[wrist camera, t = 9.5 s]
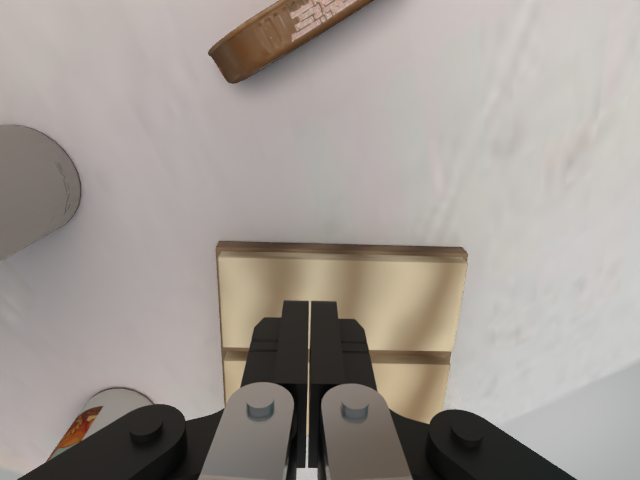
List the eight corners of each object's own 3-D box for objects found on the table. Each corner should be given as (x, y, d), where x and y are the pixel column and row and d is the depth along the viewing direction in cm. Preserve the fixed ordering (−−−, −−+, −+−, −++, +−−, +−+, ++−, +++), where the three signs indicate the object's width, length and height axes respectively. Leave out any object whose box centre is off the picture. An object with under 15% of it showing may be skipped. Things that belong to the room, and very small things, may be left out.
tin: (395, -59, 30) (425, -109, 22) (413, -15, 31) (448, -48, 23) (219, 52, 32) (189, 43, 24) (241, 90, 33) (219, 93, 25)
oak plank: (226, 337, 39) (223, 347, 38) (221, 250, 36) (218, 257, 35) (447, 342, 40) (452, 351, 39) (461, 256, 37) (467, 263, 36)
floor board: (228, 417, 45) (223, 439, 42) (219, 241, 38) (211, 253, 35) (433, 419, 45) (441, 442, 42) (462, 247, 38) (474, 260, 35)
